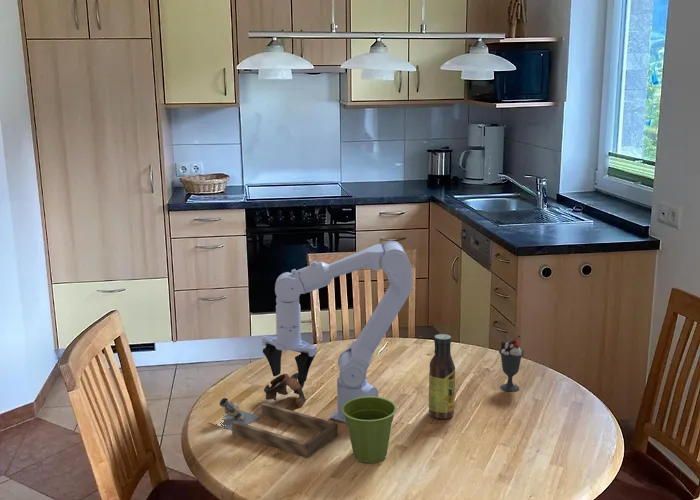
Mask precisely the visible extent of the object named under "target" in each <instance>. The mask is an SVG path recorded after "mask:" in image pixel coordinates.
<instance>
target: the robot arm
mask: <svg viewBox="0 0 700 500" xmlns="http://www.w3.org/2000/svg"><path fill="white" fill-rule="evenodd" d="M380 268H382V271H383V273H384V274H385V275H386V277H387V280H388V283H389V286H388V288H387V290H386V291H385V292H384V295H383V296H382V298H381V299H380V301H379V302H378V304H377V306H376V307H375V308H374V310H373V312H372V314H371V315H370V317H369V318H368V320H367V322H366V324H365V325H364V326H363V329H362V330H361V332H360V333H359V335H358V337H357V339H355V340H354V341H353V342H352V343H351V344H350V345H349V347H348V348H347V349H345V350H343V351H342V352H341V353H340V355H339V357H338V359H337V360H338V361H337V362H338V368H339V369H338V370H339V374H338V375H339V376H338V377H337V380H336V390H337V391H336V392H337V393H336V394H337V395H336V397H337V399H336V400H337V401H336V402H337V403H336V405H337V408H336V409H337V411H336V412H335V413H333V414H331V415H330V419H332V420H335V421H338V422H342V423H346V419H345V415H344V414H343V413H342V410H341V409H342V406H343V405H344V404H345V403H346V402H347V401H349V400H352V399H354V398H359V397H366V396H374V397H379V391H378V388H377V387H376V386H375V385H374V386H373V385H372V384H370V383H369V382H368V378H367V371H368V369H369V367H370V366H371V363H372V358H373V356H374V355H373V354H374V353H375V351H376V350H377V348H378V347H379V345H380V343H381V342H382V340H383V338H384V337H385V334H387V332H388V331H389V329H390V327H391V325H392V324H393V322H394V320H395V319H396V317H397V316H398V314H399V312H400V311H401V309H402V307H403V306H404V305H405V302H406V301H407V300H408V298H409V296H410V294H411V293H412V290H413V285H412V284H413V282H412V281H413V278H412V271H413V270H412V269H413V266H412V265H411V262H410V259H409V257H408V255H407V253H406V252H405V249H404V246H403V245H402V244H400V242H398V241H395V240H387V241H385V242H383V243H377V244H374V245H372V246H370V247H366V248H365V249H362V250H360V251H358V252H355V253H353V254H350V255H348V256H346V257H343V258H341V259H338V260H336V261H333V262H331V263H326V262H323V261H318V262H317V261H316V260H314V261H311V262H310V265H307V266H305V267H302V268H299V269H297V270H296V268H294V269H291V272H289V271H287V272H286V271H285V272H283V273H281V274H280V275H278V277H277V279H276V281H275V284H274V293H275V296H276V298H275V303H276V305H275V325H276V327H275V328H276V336H274V335H264V336H262V337H261V345H262V346H265V347H264V348H262V354H263V355H264V356H265V358H266V360H267V362H268V364H269V367H270V370H271V374H272V376H273V377H278V376H280V375H281V370H282V352H283V351H284V350H286V351H287V350H288V351H292V352H296V353H300V354H298V355H296V356H294V360H295V362H296V367H297V373H298V379H297V381H298V380H299V383H303V382H304V383H305V382H306V381H307V379H308V375H309V370H310V368H311V365H312V363H313V361H314V359H315V357H316V355H317V354H318V352H317V351H318V349H317V346H316V345H314V344H310V343H308V342H306V341H305V340H302V328H301V326H302V324H301V322H302V319H301V318H302V317H301V311H302V310H301V304H300V296H301V294H302V295H303V294H304V295H306V294H307V293H311V292H313V291H316V290H319V289H321V288H324V287H326V286H330V285H331V283H332V281H333V279H334V278H337V277H340V276H343V275H346V274H349V273H353V272H356V271H359V270H362V269H370V270H372V271H376V272H380ZM346 424H347V423H346Z"/></svg>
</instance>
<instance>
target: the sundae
mask: <svg viewBox="0 0 700 500" xmlns="http://www.w3.org/2000/svg"><path fill="white" fill-rule="evenodd" d="M519 338H521V335H519V334H518V335H517V337H516V338H514V339H512V340H510V341H508V342H504V341H501V342H500V345H501V346H500V348H499V349H498V350H497V351H498V353H499V355H500V357H501V359H500V360H501V368H502V371H503V373H504V374H505V375H506V376H507V382H506V383H502V384H501V385H500V387H499V388H500V390H502V391H504V392H509V393H515V392H518V391H520V386H518V385H517V384H514V383H513V382H514V381H513V377H514V376H516V375H517V374H518V372H519V370H520V365H521V360H522V357H524V356H525V351H524V350H522V348H521V347H520V346H519V345H520V344H519V343H518V340H519Z"/></svg>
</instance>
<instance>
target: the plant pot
mask: <svg viewBox="0 0 700 500" xmlns="http://www.w3.org/2000/svg"><path fill="white" fill-rule="evenodd" d="M341 410H342V413H343V414H344V415H345V419H346V425H347V429H348V433H349V439H350V444H351V448H352V449H351V450H352V454H353V457H354V458H355V460H356V461H358V462H361V463H364V462H365V463H368V464H376V463H379V462H381V461H383V460H385V458H386V457H387V455H388V449H389V441H390V435H391V431H392V429H391V428H392V424H393V422H394V415H395V414H396V413H397V410H398V406H397V404H396V403H395V402H393V401H392V400H391V399H388V398H385V397H380V396H378V397H374V396H366V397H359V398H354V399H352V400H349V401H347V402H346V403H345V404H344V405H343V406H342V409H341Z"/></svg>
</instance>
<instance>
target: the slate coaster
mask: <svg viewBox="0 0 700 500" xmlns="http://www.w3.org/2000/svg"><path fill="white" fill-rule="evenodd" d="M240 411H242V414H243V416H244V417H245V418H246V421H245V419H244V420H243V421H242V420H241V421H240V420H238V419H235V417H231V416H228V415H225V416H224V415H223V416H224V417H225V418H226V419H225V418H224V417H223V418H224V419H222V420H224V422H223V423H222V422H221V423H222V424H223V425H224V426H223V425H222V424H221V423H220V424H221V426H222V427H224V428H223V429H225V428H227V429H226V430H229V429H230V430H229V431H232V422H234V421H237V422H240V423H243V424H246V425H248V424H249V425H250V424H252V423H254V422H256V421H257V420H259V419H260V418H261V417H262V416H261V415H258V414H255V413H251V412H247V411H244V410H241V409H240ZM224 413H225V412H224ZM225 414H226V413H225ZM258 418H259V419H258ZM216 425H217V424H216ZM216 425H215V426H216ZM225 425H226V426H225ZM222 427H221V428H222Z"/></svg>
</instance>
